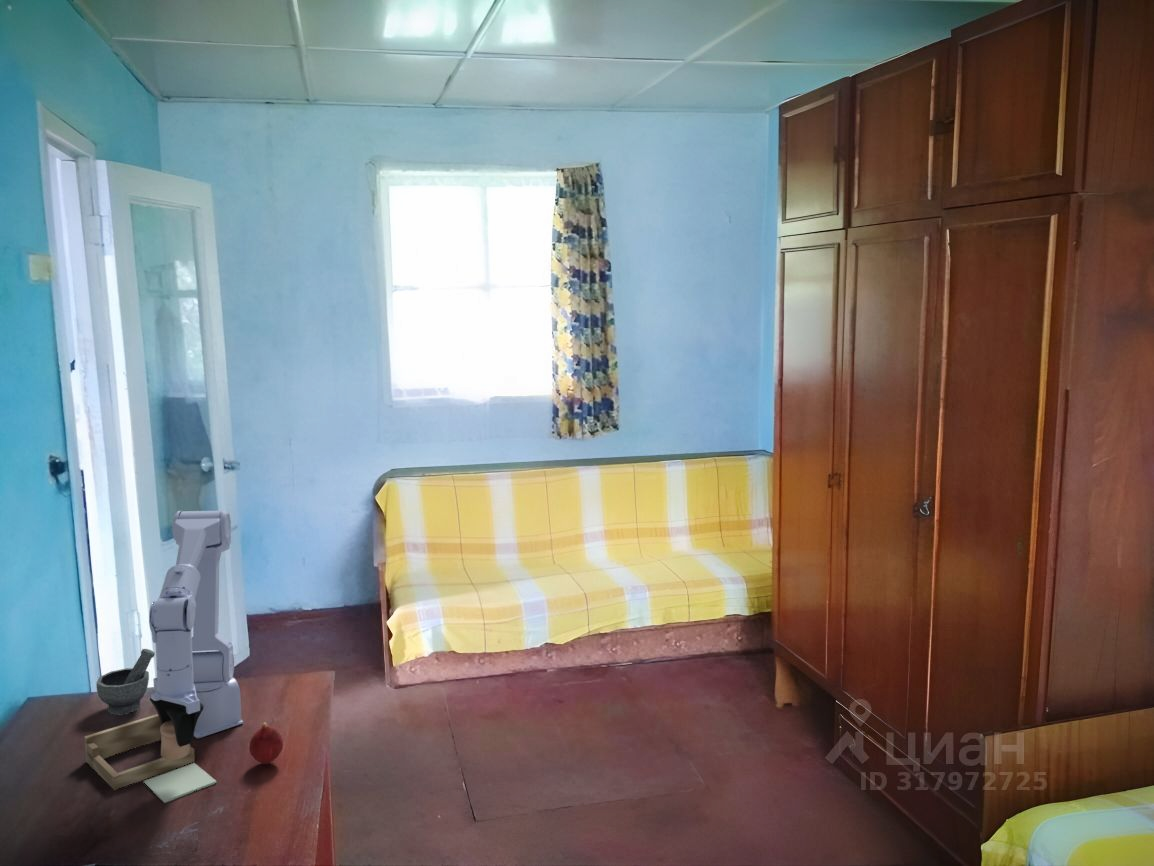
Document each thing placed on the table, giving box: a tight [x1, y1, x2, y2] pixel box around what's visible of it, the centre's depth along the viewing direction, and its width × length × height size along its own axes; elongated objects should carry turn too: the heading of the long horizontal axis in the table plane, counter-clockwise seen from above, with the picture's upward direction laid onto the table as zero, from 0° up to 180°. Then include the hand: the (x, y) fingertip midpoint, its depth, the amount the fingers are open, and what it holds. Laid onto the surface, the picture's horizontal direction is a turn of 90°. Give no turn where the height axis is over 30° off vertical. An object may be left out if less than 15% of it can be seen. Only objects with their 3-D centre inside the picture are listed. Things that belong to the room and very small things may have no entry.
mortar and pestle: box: [95, 648, 156, 716], centre depth 184 cm, size 11×9×12 cm
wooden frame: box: [84, 713, 196, 791], centre depth 162 cm, size 14×14×5 cm
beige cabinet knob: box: [160, 720, 191, 760], centre depth 154 cm, size 5×5×5 cm
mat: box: [143, 762, 217, 804], centre depth 155 cm, size 9×9×1 cm
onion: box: [249, 721, 284, 765], centre depth 162 cm, size 6×6×8 cm
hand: (178, 738), depth 154 cm, fingers closed on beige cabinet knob, 5 cm apart
